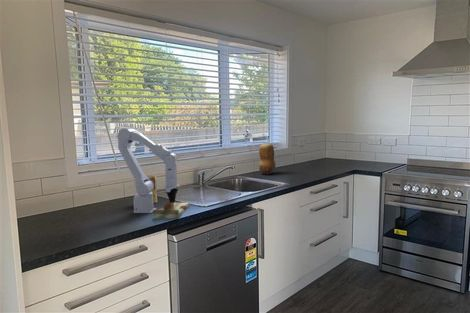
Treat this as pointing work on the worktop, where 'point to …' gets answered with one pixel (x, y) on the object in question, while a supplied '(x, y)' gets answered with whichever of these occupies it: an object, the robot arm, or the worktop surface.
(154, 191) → the candy box
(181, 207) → the trap runway
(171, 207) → the walnut block
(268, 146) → the butternut squash
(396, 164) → the worktop surface
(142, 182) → the robot arm
